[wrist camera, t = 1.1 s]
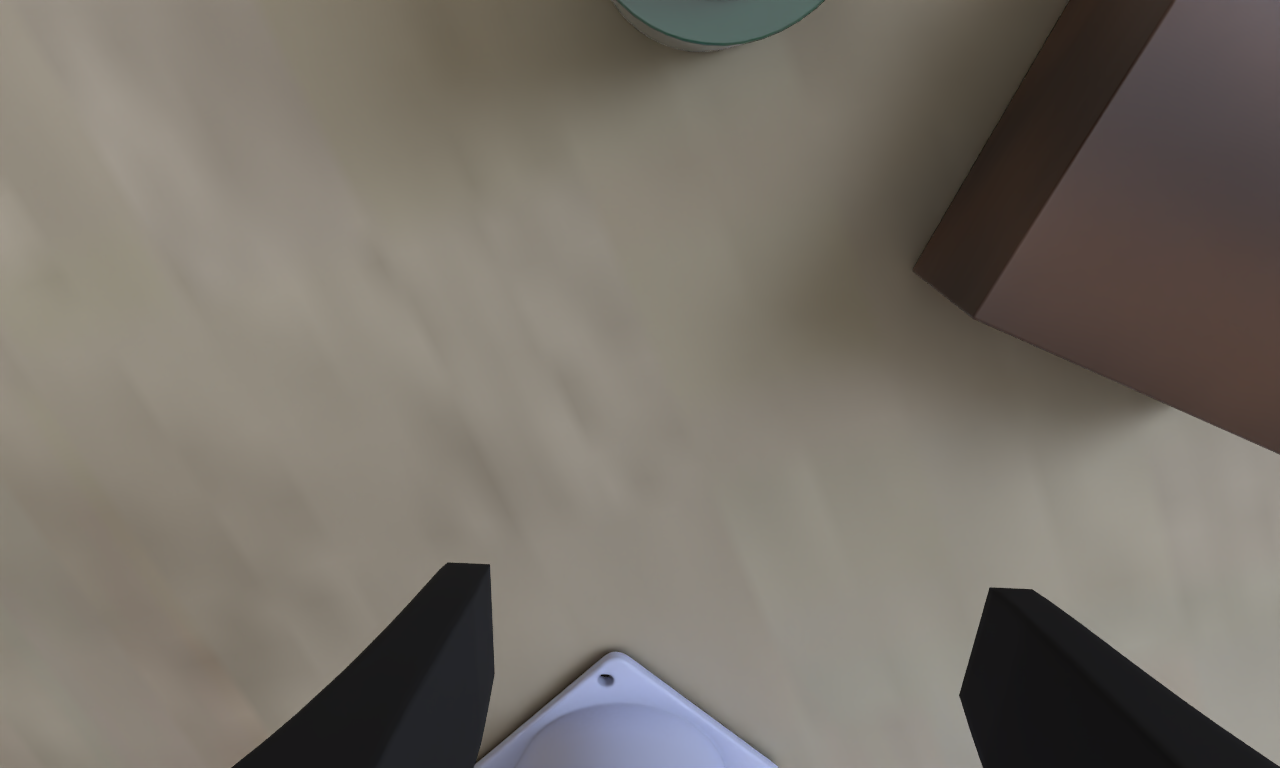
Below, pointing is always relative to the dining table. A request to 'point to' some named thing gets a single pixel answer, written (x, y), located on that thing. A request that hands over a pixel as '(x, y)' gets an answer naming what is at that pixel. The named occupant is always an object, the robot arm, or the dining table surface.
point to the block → (1137, 207)
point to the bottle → (712, 20)
